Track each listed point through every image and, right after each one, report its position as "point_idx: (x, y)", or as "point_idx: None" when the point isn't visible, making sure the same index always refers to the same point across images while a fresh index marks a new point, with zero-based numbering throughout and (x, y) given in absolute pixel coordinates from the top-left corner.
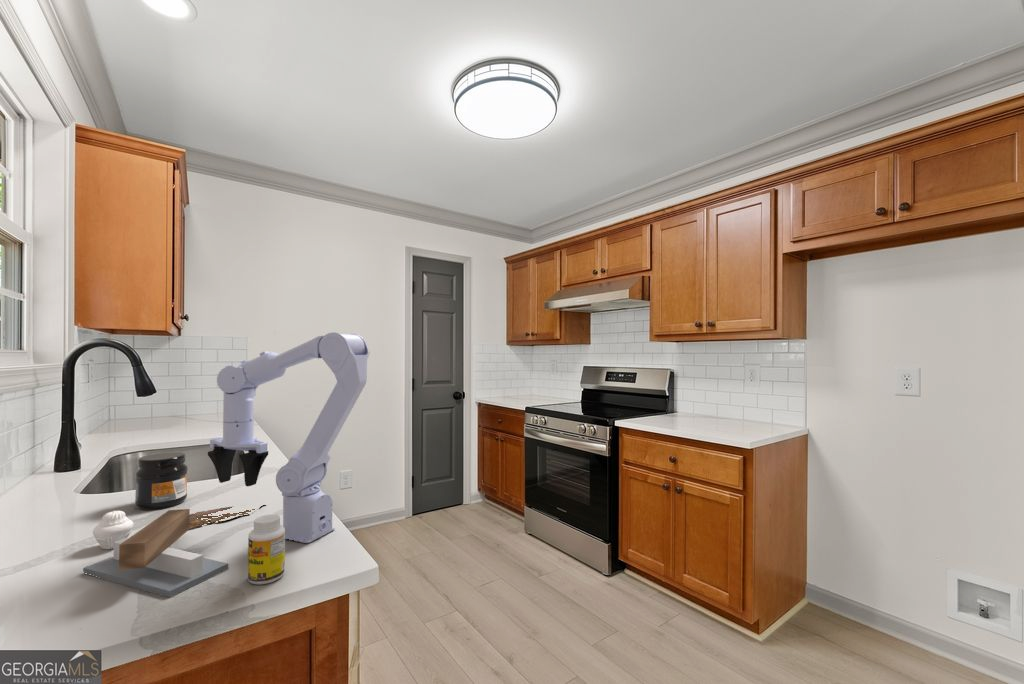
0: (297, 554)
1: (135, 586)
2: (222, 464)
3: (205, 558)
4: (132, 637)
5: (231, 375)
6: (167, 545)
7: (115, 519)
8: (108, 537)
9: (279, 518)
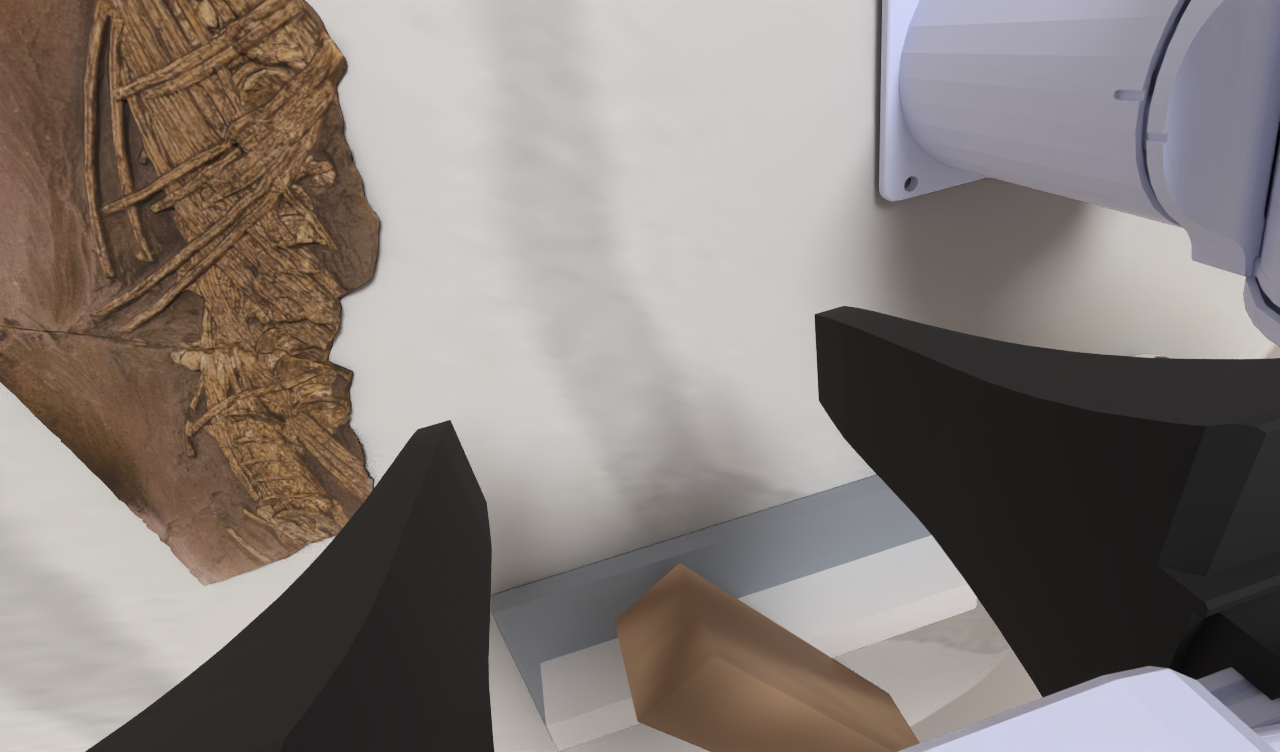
0: (1117, 235)
1: None
2: (463, 675)
3: (849, 501)
4: (1004, 652)
5: None
6: (810, 650)
7: None
8: None
9: None
